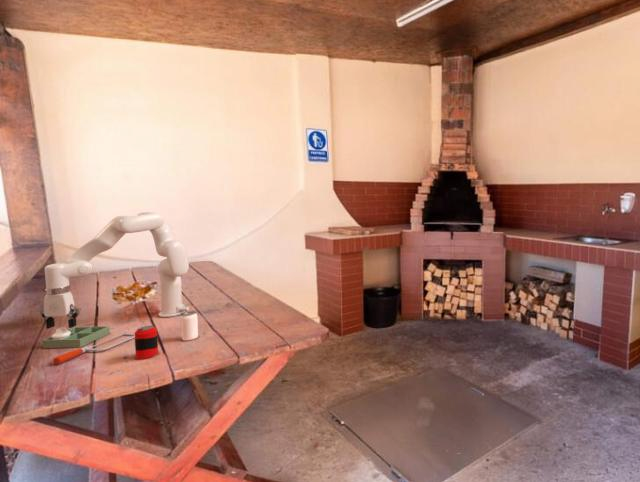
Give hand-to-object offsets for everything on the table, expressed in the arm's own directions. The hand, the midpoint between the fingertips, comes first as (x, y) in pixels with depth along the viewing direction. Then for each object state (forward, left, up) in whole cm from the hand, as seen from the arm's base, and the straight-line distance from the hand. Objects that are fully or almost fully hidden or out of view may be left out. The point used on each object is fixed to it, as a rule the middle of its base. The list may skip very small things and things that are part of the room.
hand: (61, 327), depth 179 cm
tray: (-4, -3, -8) cm, 9 cm away
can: (-56, -2, -8) cm, 56 cm away
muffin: (0, 0, -7) cm, 7 cm away
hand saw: (-22, +6, -8) cm, 25 cm away
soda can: (-49, +16, -8) cm, 52 cm away
